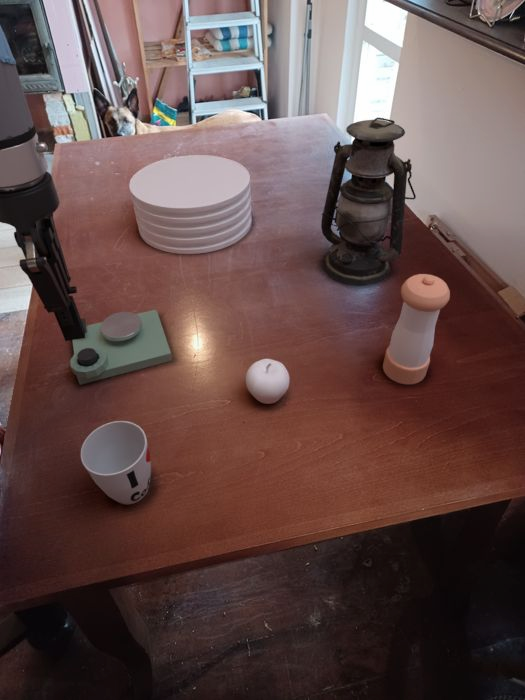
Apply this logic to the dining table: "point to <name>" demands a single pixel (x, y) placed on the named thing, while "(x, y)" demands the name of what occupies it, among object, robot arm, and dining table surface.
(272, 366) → the plain white apple
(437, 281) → the salt shaker
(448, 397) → the dining table surface
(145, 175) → the plate stack
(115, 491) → the cup
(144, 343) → the scale
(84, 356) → the button
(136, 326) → the pan
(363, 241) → the lantern
